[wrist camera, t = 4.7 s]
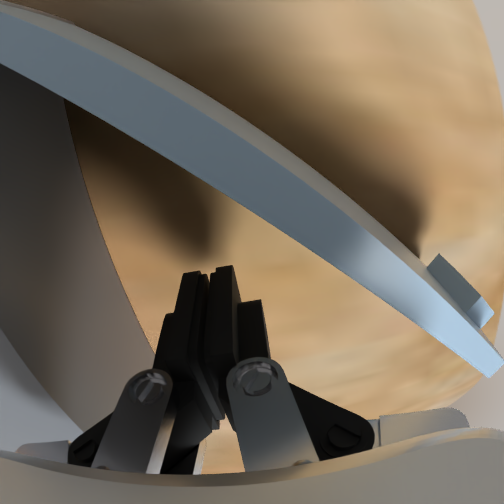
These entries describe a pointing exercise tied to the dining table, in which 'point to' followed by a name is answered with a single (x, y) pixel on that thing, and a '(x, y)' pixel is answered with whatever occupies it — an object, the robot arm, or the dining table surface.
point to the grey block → (55, 281)
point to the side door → (245, 171)
